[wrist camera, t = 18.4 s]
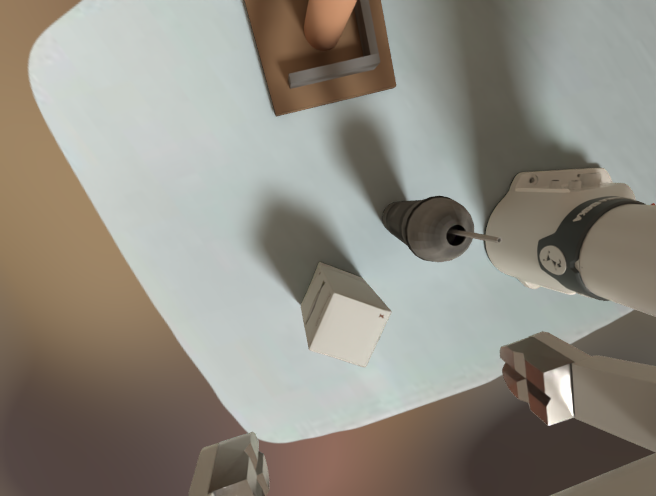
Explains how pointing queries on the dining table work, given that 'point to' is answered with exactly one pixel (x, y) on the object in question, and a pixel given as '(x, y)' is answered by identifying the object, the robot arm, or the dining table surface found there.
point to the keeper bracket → (320, 55)
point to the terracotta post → (326, 22)
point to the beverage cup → (433, 227)
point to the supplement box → (343, 315)
